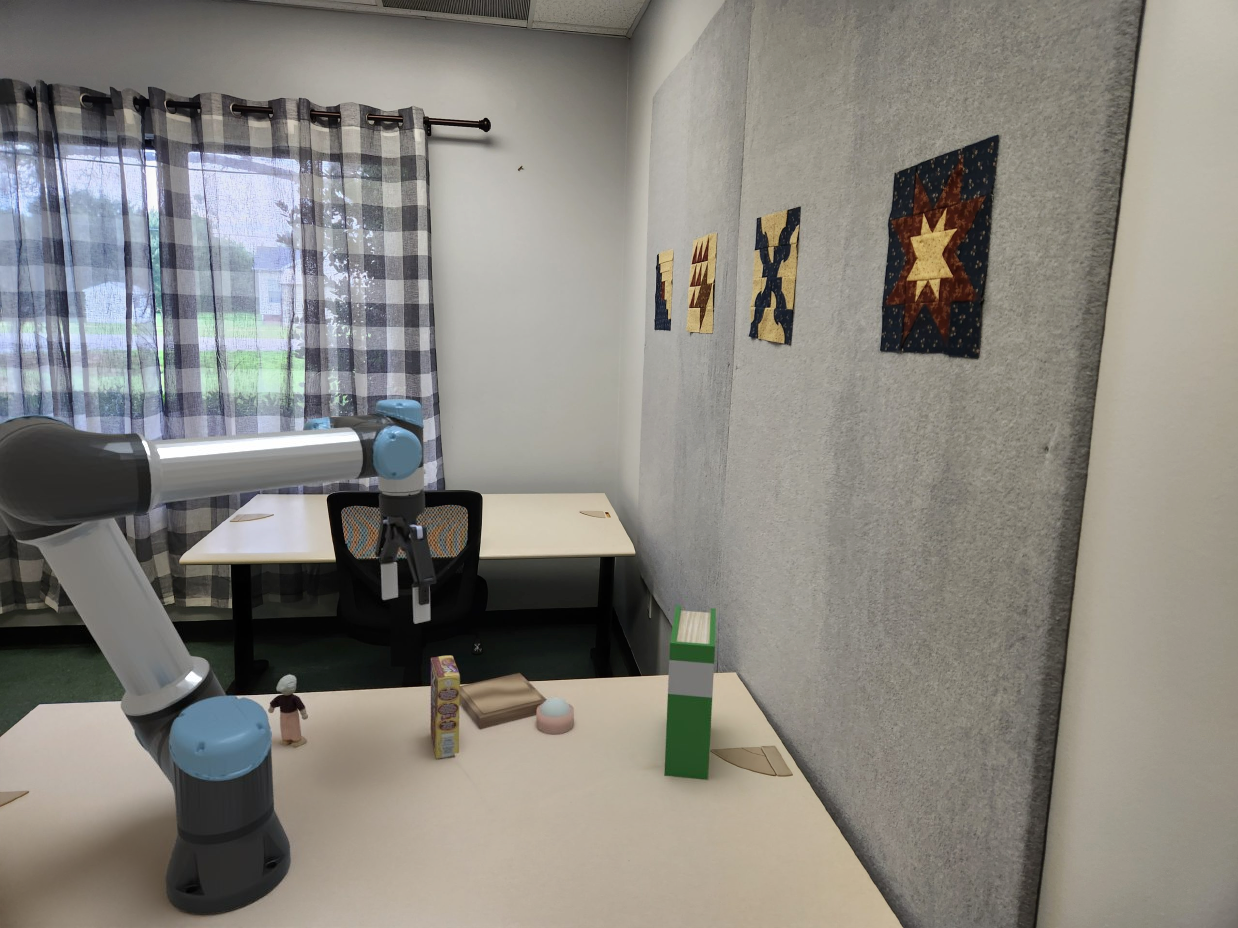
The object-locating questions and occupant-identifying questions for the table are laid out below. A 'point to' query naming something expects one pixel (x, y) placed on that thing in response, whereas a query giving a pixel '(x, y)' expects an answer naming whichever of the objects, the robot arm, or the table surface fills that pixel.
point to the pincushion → (555, 716)
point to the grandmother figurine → (289, 712)
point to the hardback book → (690, 694)
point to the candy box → (445, 706)
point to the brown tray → (500, 700)
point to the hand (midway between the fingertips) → (405, 609)
